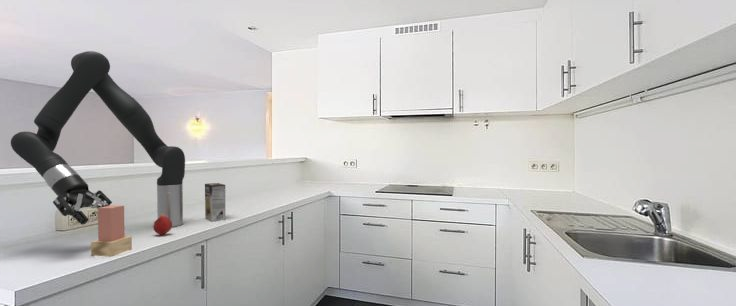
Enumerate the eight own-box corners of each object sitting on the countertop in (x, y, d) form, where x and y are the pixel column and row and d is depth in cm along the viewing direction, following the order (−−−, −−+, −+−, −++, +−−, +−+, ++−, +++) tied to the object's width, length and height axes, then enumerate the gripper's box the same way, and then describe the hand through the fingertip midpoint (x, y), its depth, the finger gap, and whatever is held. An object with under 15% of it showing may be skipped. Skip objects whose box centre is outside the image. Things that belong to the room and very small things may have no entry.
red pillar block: (98, 240, 99) (97, 207, 99) (111, 236, 104) (111, 205, 104) (111, 241, 99) (111, 208, 99) (124, 237, 103) (124, 205, 103)
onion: (163, 238, 118) (162, 216, 118) (149, 237, 119) (149, 215, 119) (175, 234, 124) (175, 212, 124) (162, 233, 125) (162, 212, 125)
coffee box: (204, 218, 152) (204, 183, 151) (219, 216, 156) (218, 182, 156) (211, 221, 145) (210, 185, 145) (226, 219, 149) (225, 184, 149)
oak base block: (91, 255, 98) (90, 241, 98) (112, 248, 105) (111, 235, 105) (111, 256, 97) (111, 242, 97) (131, 248, 104) (131, 236, 104)
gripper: (48, 175, 95) (84, 215, 94) (94, 172, 109) (126, 207, 108) (32, 193, 96) (68, 233, 95) (80, 187, 110) (111, 222, 109)
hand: (99, 219), depth 101 cm, fingers open, 8 cm apart
